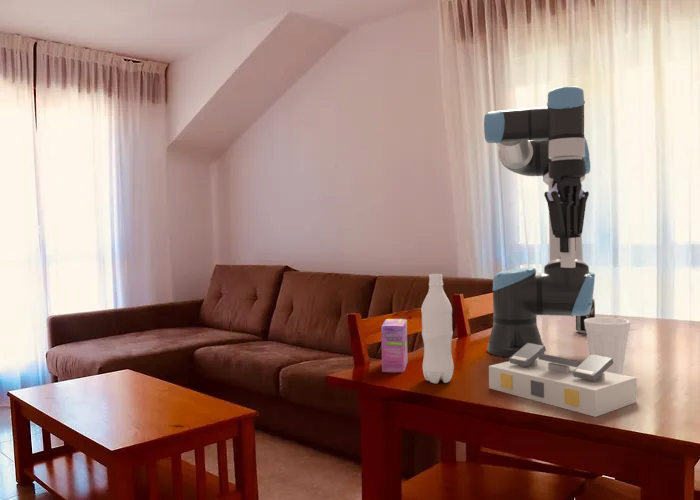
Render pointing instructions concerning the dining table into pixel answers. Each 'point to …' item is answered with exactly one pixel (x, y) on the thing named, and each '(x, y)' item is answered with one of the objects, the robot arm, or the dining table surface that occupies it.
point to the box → (394, 345)
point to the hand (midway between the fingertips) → (568, 267)
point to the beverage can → (580, 319)
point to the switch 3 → (592, 367)
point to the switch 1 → (527, 354)
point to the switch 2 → (558, 360)
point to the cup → (608, 339)
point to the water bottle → (437, 332)
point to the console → (564, 386)
